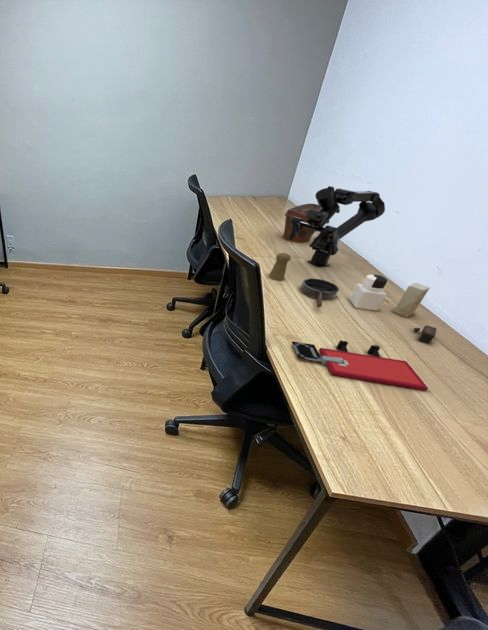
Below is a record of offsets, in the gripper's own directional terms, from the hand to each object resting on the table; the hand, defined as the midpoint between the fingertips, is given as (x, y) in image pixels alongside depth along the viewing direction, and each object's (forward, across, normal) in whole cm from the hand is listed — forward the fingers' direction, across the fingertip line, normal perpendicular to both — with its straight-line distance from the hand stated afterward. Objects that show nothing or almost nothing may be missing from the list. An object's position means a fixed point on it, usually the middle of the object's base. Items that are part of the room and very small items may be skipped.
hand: (299, 243), depth 147 cm
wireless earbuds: (+16, +52, +4) cm, 55 cm away
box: (+7, +42, +12) cm, 44 cm away
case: (-22, -26, +41) cm, 53 cm away
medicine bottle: (+12, +32, +8) cm, 35 cm away
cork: (+17, +1, +3) cm, 17 cm away
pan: (+16, +18, +4) cm, 24 cm away
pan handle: (+22, +24, -5) cm, 33 cm away
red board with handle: (+41, +49, -21) cm, 67 cm away
